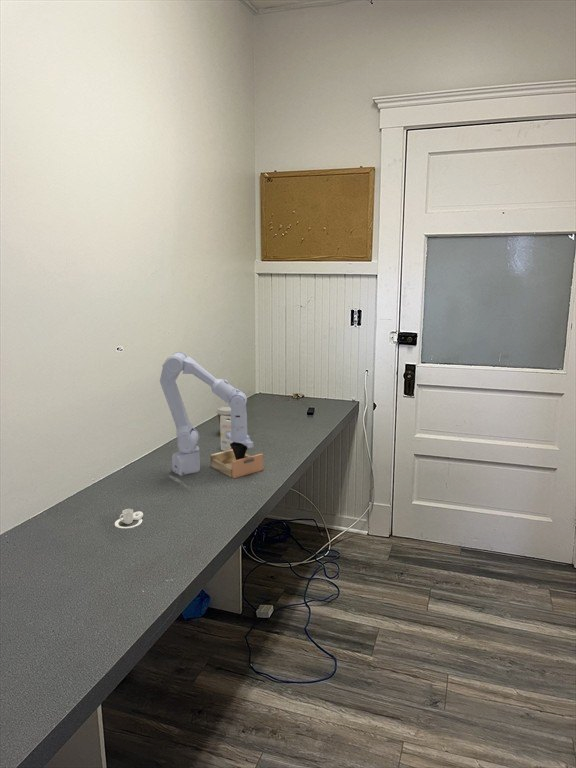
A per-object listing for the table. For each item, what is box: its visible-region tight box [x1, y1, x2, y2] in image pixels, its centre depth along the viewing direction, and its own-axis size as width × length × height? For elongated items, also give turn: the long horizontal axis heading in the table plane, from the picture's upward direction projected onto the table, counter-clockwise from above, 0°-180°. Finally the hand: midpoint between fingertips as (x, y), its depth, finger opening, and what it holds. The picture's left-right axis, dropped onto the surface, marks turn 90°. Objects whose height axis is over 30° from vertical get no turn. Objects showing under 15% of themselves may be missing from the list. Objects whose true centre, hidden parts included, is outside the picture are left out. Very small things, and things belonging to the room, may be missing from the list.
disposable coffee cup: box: [216, 405, 231, 425], centre depth 248 cm, size 10×10×12 cm
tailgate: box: [232, 453, 264, 479], centre depth 199 cm, size 13×2×6 cm, turn 128°
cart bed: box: [209, 449, 251, 479], centre depth 205 cm, size 13×14×6 cm
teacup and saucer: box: [114, 508, 144, 529], centre depth 166 cm, size 9×8×4 cm
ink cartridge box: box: [219, 415, 233, 452], centre depth 227 cm, size 9×5×15 cm, turn 62°
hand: (240, 462), depth 203 cm, fingers closed
